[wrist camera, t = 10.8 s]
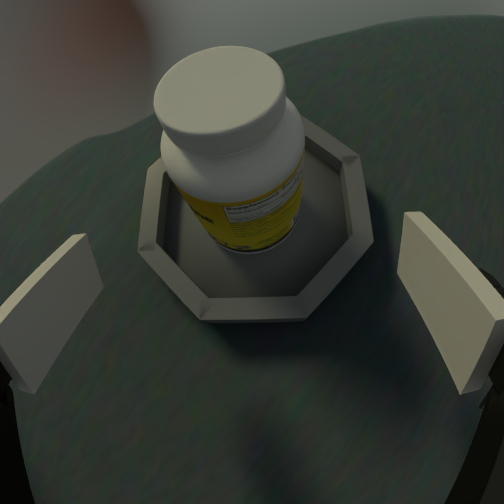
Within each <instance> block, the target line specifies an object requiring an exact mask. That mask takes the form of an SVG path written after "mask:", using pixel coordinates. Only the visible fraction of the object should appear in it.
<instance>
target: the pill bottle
mask: <svg viewBox="0 0 504 504" xmlns="http://www.w3.org/2000/svg"><path fill="white" fill-rule="evenodd" d="M154 109H155V113H156V115H157V117H158V119H159V121H160V123H161V125H162V127H163V129H164V130H163V133H162V138H161V156H162V161H163V164H164V166H165V169H166V171H167V173H168V175H169V177H170V178H171V180H172V181H173V183H174V184H175V186H176V187H177V189H178V190H179V192H180V193H181V194H182V196H183V197H184V199H185V201H186V202H187V203H188V205H189V206H190V208H191V210H192V211H193V213H194V214H195V215H196V217H197V218H198V220H199V222H200V223H201V224H202V226H203V227H204V229H205V230H206V232H207V233H208V234H209V236H210V237H211V238H212V239H213V240H214V241H215V242H216V243H217V244H218V245H220V246H221V247H223V248H225V249H227V250H229V251H232V252H235V253H239V254H257V253H262V252H265V251H268V250H271V249H273V248H275V247H277V246H278V245H279V244H281V243H282V242H283V241H284V240H286V239H287V237H288V236H289V235H290V234H291V233H292V231H293V229H294V228H295V226H296V223H297V221H298V217H299V212H300V205H301V194H302V182H303V168H304V152H305V133H304V126H303V122H302V119H301V117H300V114H299V112H298V110H297V109H296V107H295V106H294V105H293V103H292V102H291V101H290V100H289V99H288V98H287V97H286V89H285V79H284V75H283V72H282V70H281V68H280V67H279V65H278V64H277V63H276V62H275V61H274V60H273V59H272V58H271V57H269V56H268V55H266V54H264V53H262V52H260V51H257V50H255V49H251V48H247V47H241V46H221V47H214V48H209V49H206V50H202V51H200V52H197V53H194V54H192V55H190V56H188V57H186V58H184V59H183V60H181V61H180V62H178V63H177V64H175V65H174V66H173V67H172V68H171V69H170V70H169V71H168V72H167V73H166V74H165V75H164V76H163V78H162V79H161V81H160V82H159V84H158V86H157V88H156V91H155V95H154Z"/></svg>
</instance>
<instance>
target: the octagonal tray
mask: <svg viewBox="0 0 504 504" xmlns="http://www.w3.org/2000/svg"><path fill="white" fill-rule="evenodd" d="M300 117H301V119H302V122H303V126H304V133H305V152H304V168H303V182H302V194H301V205H300V212H299V217H298V221H297V223H296V226H295V228H294V229H293V231H292V233H291V234H290V235H289V236H288V237H287V239H286V240H284V241H283V242H282V243H281V244H279V245H278V246H277V247H275V248H273V249H271V250H268V251H265V252H262V253H257V254H239V253H235V252H232V251H229V250H227V249H225V248H223V247H221V246H220V245H218V244H217V243H216V242H215V241H214V240H213V239H212V238H211V237H210V236H209V234H208V233H207V232H206V230H205V229H204V227H203V226H202V224H201V223H200V222H199V220H198V218H197V217H196V215H195V214H194V213H193V211H192V210H191V208H190V206H189V205H188V203H187V202H186V201H185V199H184V197H183V196H182V194H181V193H180V192H179V190H178V189H177V187H176V186H175V184H174V183H173V181H172V180H171V178H170V177H169V175H168V173H167V171H166V169H165V166H164V164H163V161H162V156H161V157H160V158H159V159H158V160H157V161H156V162H155V163H154V164H153V165H152V166H151V167H149V168H148V171H147V178H146V184H145V191H144V198H143V206H142V214H141V222H140V231H139V241H138V252H139V254H140V255H141V256H142V257H143V258H144V259H145V261H146V262H147V263H148V264H149V265H150V266H151V267H152V269H153V270H154V271H155V272H156V273H157V274H158V275H159V276H160V278H161V279H162V280H163V281H164V282H165V283H166V284H167V285H168V286H169V288H170V289H171V290H172V291H173V292H174V293H175V294H176V295H177V296H178V297H179V298H180V300H181V301H182V302H183V303H184V304H185V305H186V306H187V307H188V308H189V309H190V310H191V311H192V312H193V313H194V314H195V316H196V317H197V318H198V319H199V320H201V321H204V322H207V323H270V322H299V321H305V320H306V319H307V318H308V317H309V316H310V315H311V314H312V313H313V312H314V310H315V309H316V308H317V307H318V306H319V305H320V304H321V303H322V302H323V301H324V299H325V298H326V297H327V296H328V295H329V294H330V293H331V292H332V291H333V289H334V288H335V287H336V286H337V285H338V284H339V283H340V281H341V280H342V279H343V278H344V277H345V276H346V275H347V273H348V272H349V271H350V270H351V269H352V268H353V266H354V265H355V264H356V263H357V262H358V261H359V259H360V258H361V257H362V256H363V255H364V253H365V252H366V251H367V250H368V248H369V247H370V246H371V244H372V243H373V242H374V240H373V233H372V226H371V219H370V212H369V206H368V199H367V193H366V188H365V182H364V176H363V171H362V166H361V161H360V156H359V155H358V154H356V153H355V152H354V151H352V150H351V149H350V148H348V147H347V146H345V145H344V144H343V143H341V142H340V141H338V140H337V139H336V138H334V137H333V136H331V135H330V134H328V133H327V132H325V131H324V130H322V129H321V128H320V127H318V126H317V125H315V124H314V123H312V122H311V121H309V120H307V119H306V118H304V117H303V116H301V115H300Z"/></svg>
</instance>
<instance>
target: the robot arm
mask: <svg viewBox="0 0 504 504" xmlns="http://www.w3.org/2000/svg"><path fill="white" fill-rule="evenodd" d="M397 274H398V276H399V277H400V279H401V281H402V282H403V284H404V286H405V288H406V289H407V291H408V293H409V295H410V296H411V298H412V300H413V302H414V303H415V305H416V307H417V309H418V311H419V313H420V314H421V316H422V318H423V320H424V322H425V324H426V326H427V327H428V329H429V331H430V333H431V335H432V337H433V339H434V341H435V343H436V345H437V347H438V349H439V351H440V353H441V355H442V357H443V359H444V361H445V363H446V365H447V367H448V369H449V372H450V374H451V376H452V378H453V380H454V382H455V385H456V387H457V389H458V391H459V394H460V395H462V394H465V393H469V392H472V391H476V390H479V389H481V387H482V386H483V384H484V382H485V380H486V378H487V377H488V375H489V377H490V379H491V381H492V383H493V385H492V387H491V388H490V390H489V392H488V393H487V395H486V397H485V398H484V400H483V401H482V403H481V405H480V406H479V408H481V409H482V407H483V406H484V404H485V406H484V409H483V412H482V415H481V418H480V421H479V424H478V427H477V430H476V433H475V436H474V438H473V441H472V444H471V446H470V449H469V451H468V454H467V456H466V459H465V461H464V463H463V466H462V468H461V470H460V472H459V475H458V477H457V479H456V481H455V483H454V485H453V487H452V489H451V491H450V493H449V495H448V497H447V499H446V501H445V503H444V504H504V288H503V287H501V285H500V284H499V282H498V281H497V280H496V279H495V278H494V277H493V276H492V275H490V274H489V273H487V272H486V271H484V270H483V269H481V268H480V269H477V268H476V267H475V265H474V264H473V263H472V262H471V261H470V260H469V259H468V258H467V257H466V256H465V255H464V254H463V253H462V252H461V251H460V249H459V248H458V247H457V246H456V245H455V244H454V243H453V242H452V241H451V240H450V239H449V238H448V237H447V236H446V235H445V234H444V233H443V232H442V231H441V230H440V229H439V228H438V227H437V226H436V225H435V224H434V223H433V222H432V221H430V220H429V219H428V218H427V217H426V216H425V215H424V214H423V213H422V212H404V221H403V230H402V239H401V247H400V255H399V262H398V269H397ZM103 288H104V286H103V283H102V280H101V278H100V275H99V272H98V269H97V266H96V263H95V260H94V257H93V254H92V251H91V248H90V244H89V241H88V238H87V235H86V234H77V235H72V236H71V237H70V238H69V239H68V240H67V241H66V242H65V243H64V244H62V245H61V246H60V247H59V248H58V249H57V250H56V251H55V252H54V253H53V254H52V255H51V256H50V257H49V258H47V259H46V260H45V261H44V262H43V263H42V264H41V265H40V266H39V267H38V268H37V269H36V270H35V271H34V272H33V273H32V274H31V275H30V276H29V277H28V278H27V279H26V280H25V281H24V282H23V283H22V284H21V285H20V286H19V287H18V288H17V289H16V291H15V292H14V293H13V294H12V295H11V296H10V297H9V298H8V299H7V300H6V301H5V302H4V303H3V304H2V306H1V307H0V504H35V502H34V499H33V496H32V492H31V489H30V485H29V481H28V477H27V473H26V469H25V465H24V460H23V455H22V450H21V445H20V440H19V434H18V428H17V421H16V414H15V406H14V397H13V391H12V389H11V388H10V386H9V385H8V384H9V382H10V381H11V379H12V380H13V381H14V383H15V384H16V385H17V387H18V388H19V389H20V391H23V392H27V393H30V394H34V395H35V393H36V391H37V390H38V388H39V386H40V384H41V383H42V381H43V379H44V378H45V376H46V374H47V373H48V371H49V369H50V368H51V366H52V364H53V363H54V361H55V359H56V358H57V356H58V355H59V353H60V351H61V350H62V348H63V347H64V345H65V344H66V342H67V341H68V339H69V337H70V336H71V334H72V333H73V331H74V330H75V328H76V327H77V325H78V324H79V322H80V321H81V319H82V318H83V316H84V315H85V313H86V312H87V310H88V309H89V308H90V306H91V305H92V303H93V302H94V300H95V299H96V297H97V296H98V295H99V293H100V292H101V290H102V289H103Z"/></svg>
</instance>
